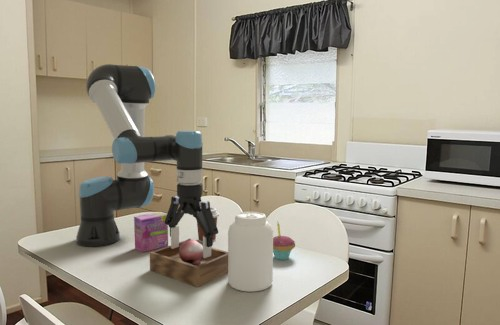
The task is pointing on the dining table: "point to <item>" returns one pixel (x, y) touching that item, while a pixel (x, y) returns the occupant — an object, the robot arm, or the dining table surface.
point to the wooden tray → (189, 265)
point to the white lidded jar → (250, 252)
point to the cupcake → (282, 246)
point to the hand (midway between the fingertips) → (190, 252)
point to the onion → (191, 252)
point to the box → (150, 231)
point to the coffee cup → (201, 233)
